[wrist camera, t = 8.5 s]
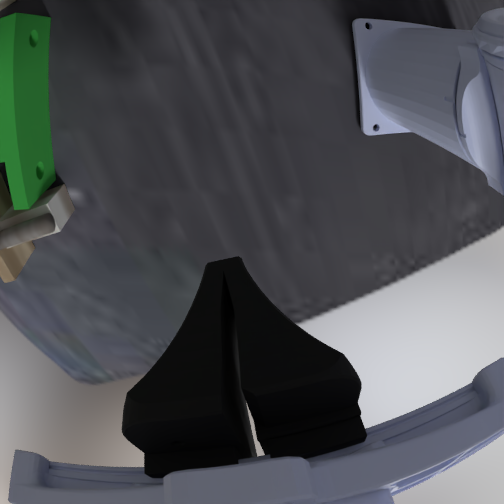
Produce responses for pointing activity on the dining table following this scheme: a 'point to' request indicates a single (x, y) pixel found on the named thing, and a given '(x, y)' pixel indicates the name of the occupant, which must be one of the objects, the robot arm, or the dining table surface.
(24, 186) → the pipe clamp
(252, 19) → the dining table surface
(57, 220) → the wooden drawer handle
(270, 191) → the dining table surface
